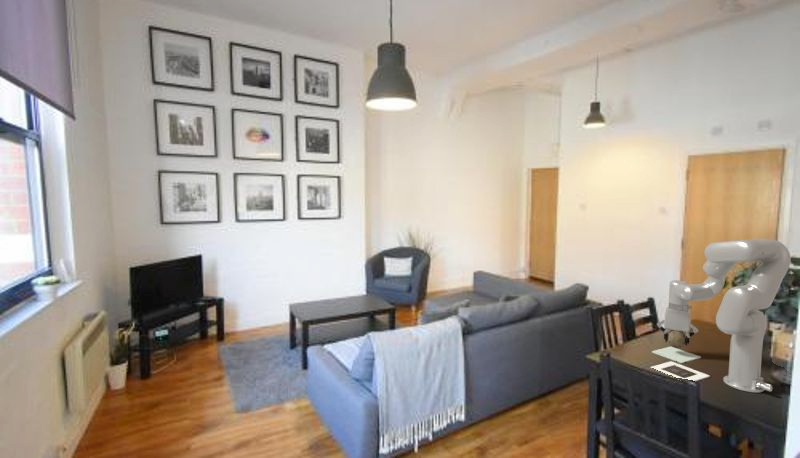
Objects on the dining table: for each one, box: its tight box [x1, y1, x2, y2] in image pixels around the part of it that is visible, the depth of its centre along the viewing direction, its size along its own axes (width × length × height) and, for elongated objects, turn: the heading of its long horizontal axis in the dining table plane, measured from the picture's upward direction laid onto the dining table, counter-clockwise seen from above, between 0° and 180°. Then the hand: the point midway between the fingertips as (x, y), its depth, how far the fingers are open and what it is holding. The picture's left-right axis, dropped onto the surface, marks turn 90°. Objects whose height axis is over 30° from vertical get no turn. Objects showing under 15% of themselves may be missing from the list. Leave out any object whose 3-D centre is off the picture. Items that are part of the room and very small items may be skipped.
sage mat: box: [651, 345, 702, 364], centre depth 188 cm, size 14×14×1 cm
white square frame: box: [650, 360, 711, 382], centre depth 170 cm, size 16×14×1 cm
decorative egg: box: [667, 330, 686, 349], centre depth 187 cm, size 7×7×10 cm
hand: (676, 342), depth 188 cm, fingers closed on decorative egg, 7 cm apart
